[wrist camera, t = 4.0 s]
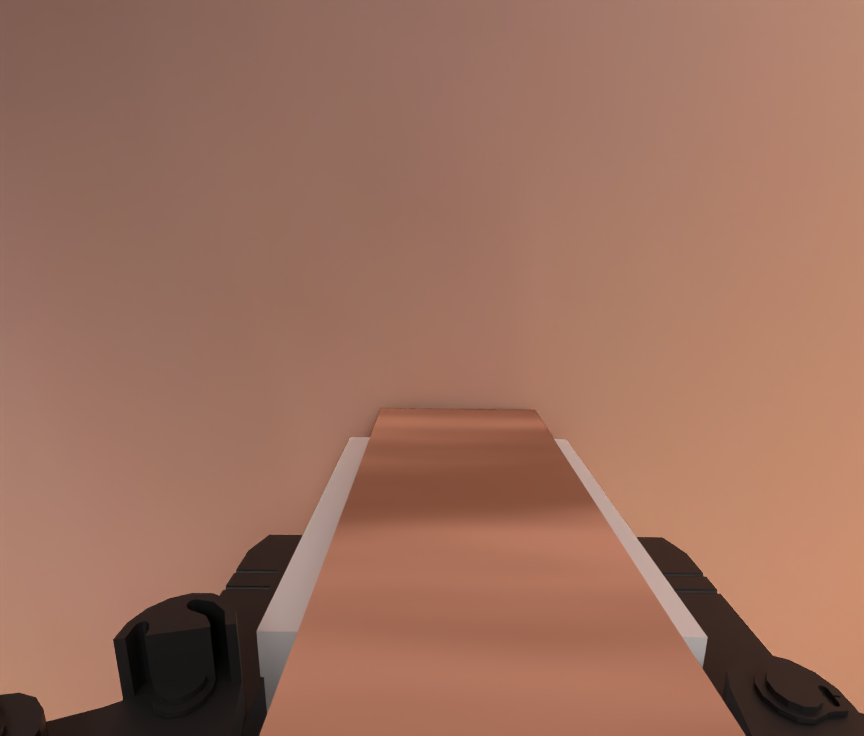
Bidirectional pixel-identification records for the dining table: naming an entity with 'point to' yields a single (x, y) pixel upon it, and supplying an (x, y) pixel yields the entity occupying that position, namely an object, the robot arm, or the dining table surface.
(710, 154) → the dining table surface
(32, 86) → the dining table surface
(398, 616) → the tan wooden frame
